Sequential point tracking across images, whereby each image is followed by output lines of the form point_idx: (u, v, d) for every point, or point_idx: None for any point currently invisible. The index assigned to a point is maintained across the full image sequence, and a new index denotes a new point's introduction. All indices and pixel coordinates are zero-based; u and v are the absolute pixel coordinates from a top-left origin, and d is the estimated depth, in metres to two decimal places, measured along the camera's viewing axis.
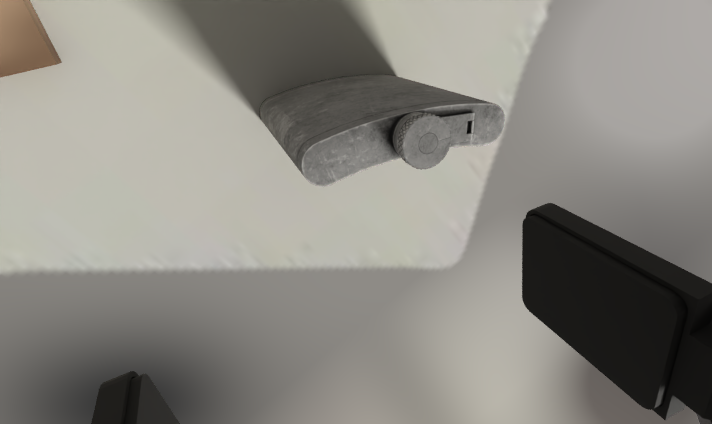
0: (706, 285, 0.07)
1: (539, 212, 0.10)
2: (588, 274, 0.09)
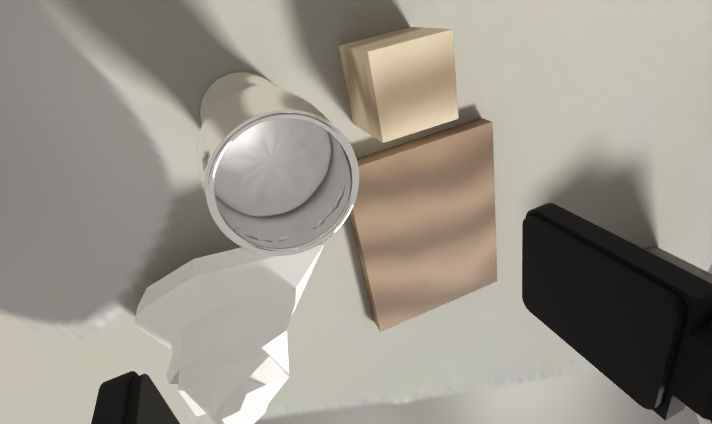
0: (707, 285, 0.07)
1: (539, 212, 0.10)
2: (588, 274, 0.09)
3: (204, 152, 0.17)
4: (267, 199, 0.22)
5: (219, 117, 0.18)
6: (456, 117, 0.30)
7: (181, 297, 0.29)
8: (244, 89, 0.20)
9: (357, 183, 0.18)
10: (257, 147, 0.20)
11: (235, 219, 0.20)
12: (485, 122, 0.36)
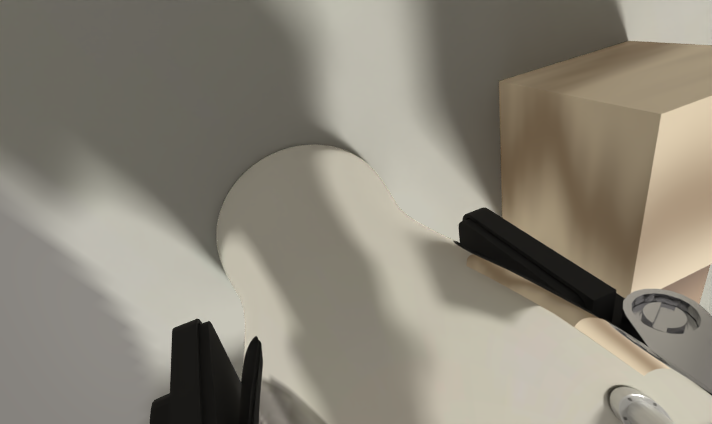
0: (604, 287, 0.07)
1: (472, 216, 0.10)
2: None
3: None
4: None
5: None
6: None
7: None
8: (467, 379, 0.04)
9: None
10: None
11: None
12: None
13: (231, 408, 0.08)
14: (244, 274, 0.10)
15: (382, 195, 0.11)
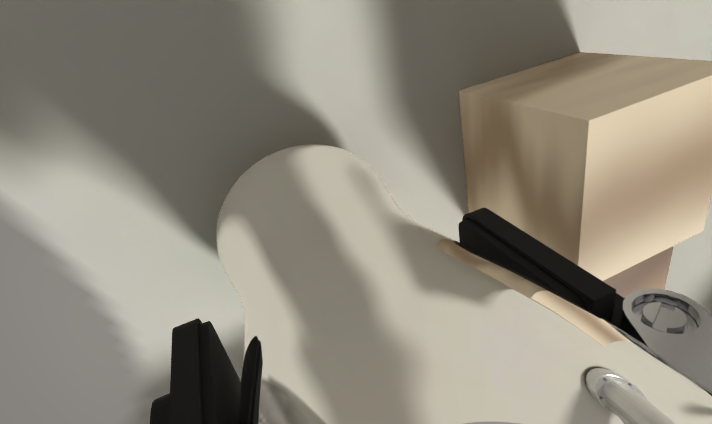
0: (604, 287, 0.07)
1: (472, 216, 0.10)
2: None
3: None
4: None
5: None
6: (700, 229, 0.15)
7: None
8: (466, 378, 0.04)
9: None
10: None
11: None
12: None
13: (231, 408, 0.08)
14: (244, 274, 0.10)
15: (382, 195, 0.11)
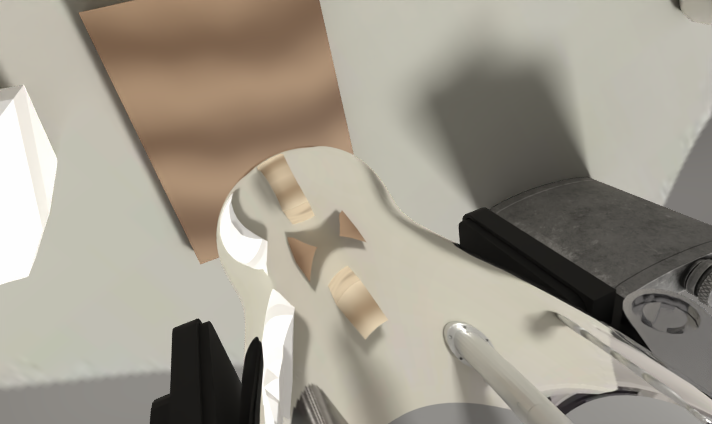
0: (604, 287, 0.07)
1: (472, 216, 0.10)
2: None
3: None
4: None
5: None
6: None
7: None
8: (467, 381, 0.04)
9: None
10: None
11: None
12: None
13: (231, 408, 0.08)
14: (244, 275, 0.10)
15: (382, 196, 0.11)
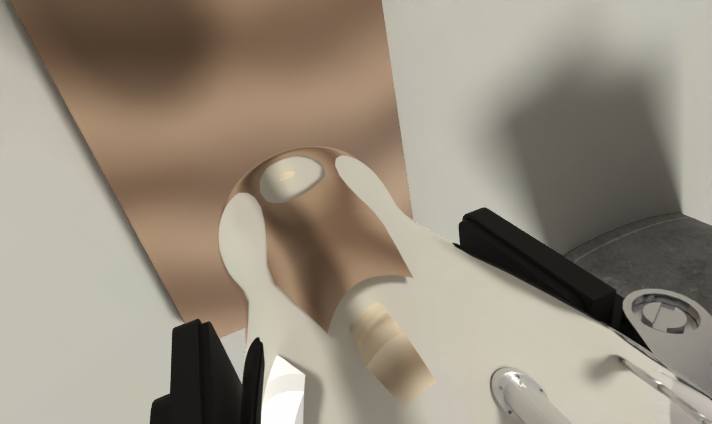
0: (605, 287, 0.07)
1: (472, 216, 0.10)
2: None
3: None
4: None
5: None
6: None
7: None
8: (468, 383, 0.04)
9: None
10: None
11: None
12: None
13: (231, 408, 0.08)
14: (245, 276, 0.10)
15: (382, 197, 0.11)
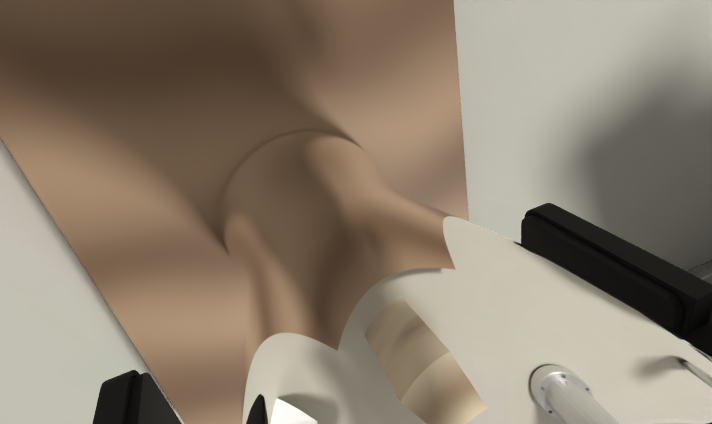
0: (705, 285, 0.07)
1: (538, 212, 0.10)
2: (587, 274, 0.09)
3: None
4: None
5: None
6: None
7: None
8: (438, 300, 0.05)
9: None
10: None
11: None
12: None
13: None
14: (247, 248, 0.11)
15: (375, 176, 0.12)
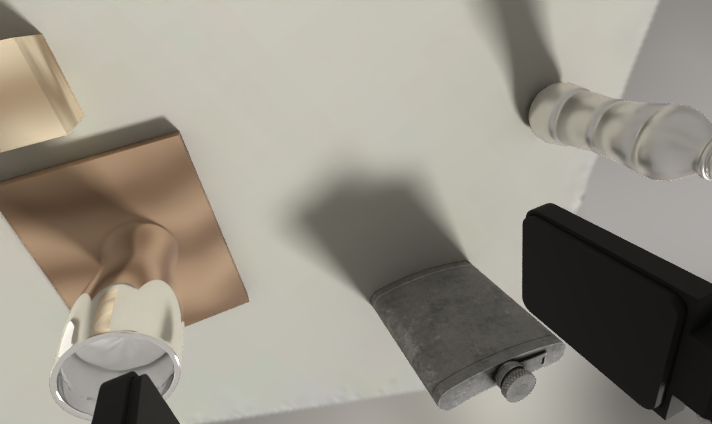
0: (707, 285, 0.07)
1: (539, 212, 0.10)
2: (588, 274, 0.09)
3: (56, 354, 0.23)
4: (128, 359, 0.28)
5: (70, 323, 0.24)
6: (63, 133, 0.27)
7: None
8: (101, 285, 0.26)
9: (178, 366, 0.25)
10: None
11: (97, 382, 0.27)
12: (173, 135, 0.34)
13: None
14: None
15: (151, 243, 0.33)
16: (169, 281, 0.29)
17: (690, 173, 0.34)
